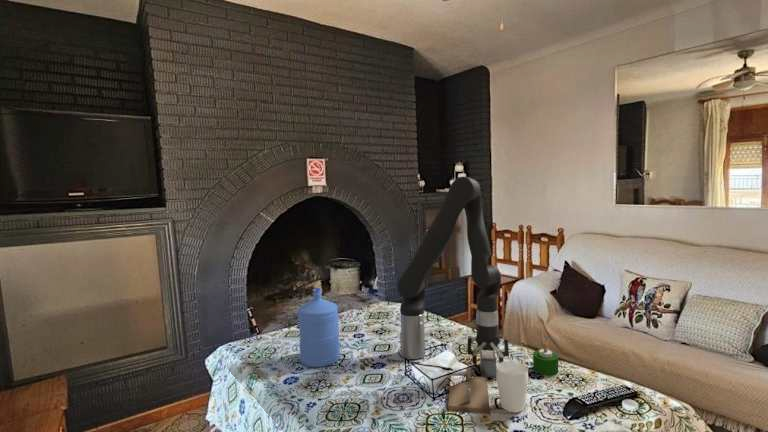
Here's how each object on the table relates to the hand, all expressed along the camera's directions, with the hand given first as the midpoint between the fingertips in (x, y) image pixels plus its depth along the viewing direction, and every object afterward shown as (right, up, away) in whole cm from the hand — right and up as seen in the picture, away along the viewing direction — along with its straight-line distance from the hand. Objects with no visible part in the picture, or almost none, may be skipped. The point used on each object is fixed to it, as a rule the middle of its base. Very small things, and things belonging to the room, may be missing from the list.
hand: (487, 365), depth 138 cm
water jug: (-62, -3, +14) cm, 64 cm away
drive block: (0, -2, 0) cm, 2 cm away
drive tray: (-10, -3, -15) cm, 18 cm away
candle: (+20, -1, -1) cm, 20 cm away
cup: (+1, -4, -23) cm, 23 cm away
